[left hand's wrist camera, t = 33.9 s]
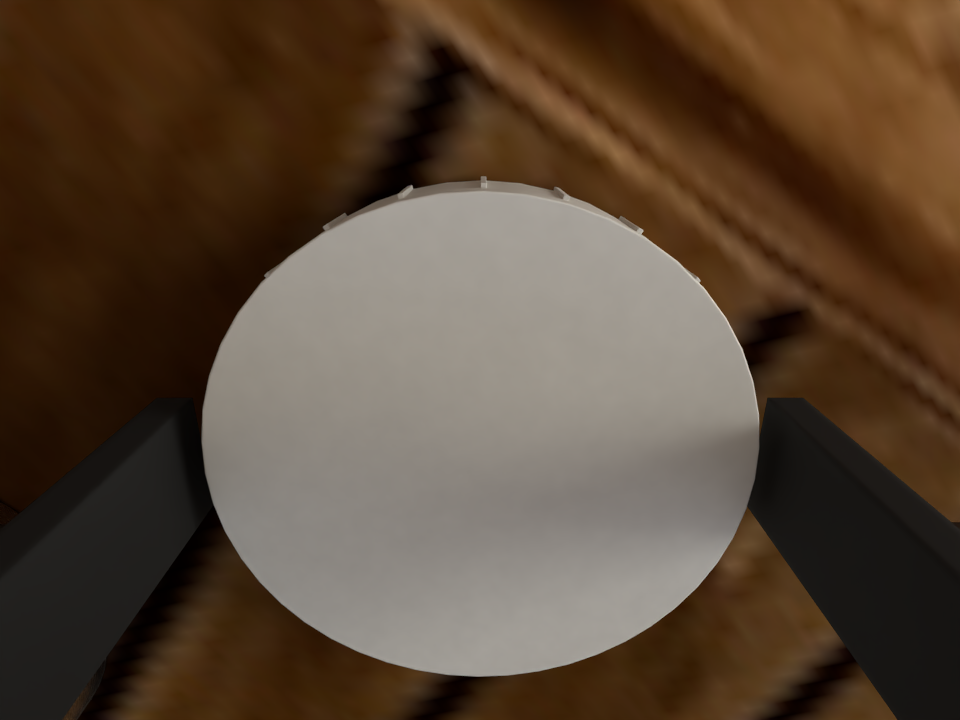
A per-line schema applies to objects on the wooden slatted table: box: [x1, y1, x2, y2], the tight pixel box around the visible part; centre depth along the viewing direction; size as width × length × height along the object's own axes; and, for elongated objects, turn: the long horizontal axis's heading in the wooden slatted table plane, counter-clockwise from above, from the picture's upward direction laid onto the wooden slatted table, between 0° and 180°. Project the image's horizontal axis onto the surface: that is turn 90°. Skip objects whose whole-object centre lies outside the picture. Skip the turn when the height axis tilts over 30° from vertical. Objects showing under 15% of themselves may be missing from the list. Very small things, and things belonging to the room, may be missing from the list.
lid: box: [201, 176, 759, 676], centre depth 13 cm, size 11×11×2 cm
